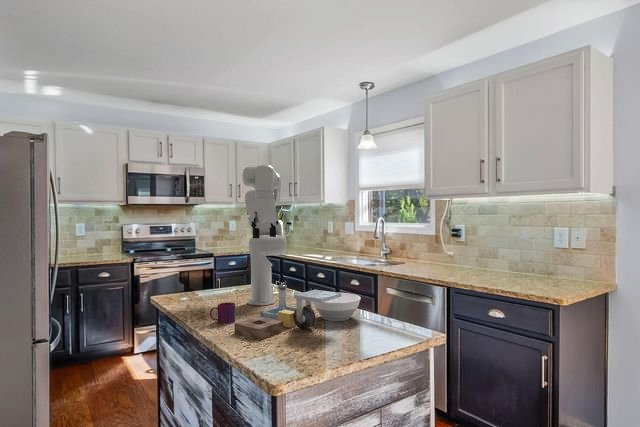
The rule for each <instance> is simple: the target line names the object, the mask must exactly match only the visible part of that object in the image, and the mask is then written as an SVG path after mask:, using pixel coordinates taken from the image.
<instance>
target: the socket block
mask: <svg viewBox="0 0 640 427" xmlns="http://www.w3.org/2000/svg"><path fill="white" fill-rule="evenodd" d="M282 332H284V326H283V321H279V320H274V319H270V318H265V317H260V316H256V317H252V318H248V319H245V320H242V321H238V322H234V334H235V335H240V336H244V337H247V338H251V339H255V340H262V339H264V338H267V337H271V336H273V335H277V334H279V333H282Z"/></svg>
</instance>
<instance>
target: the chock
mask: <svg viewBox="0 0 640 427" xmlns="http://www.w3.org/2000/svg"><path fill="white" fill-rule="evenodd" d="M293 315H294V311H289V310H282V311H279V312H278V320H279V321H283V327H285V328H286V327H287V328H293V327H294V326H295V327H296V324H295V322H294V319H293Z"/></svg>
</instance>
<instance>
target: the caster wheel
mask: <svg viewBox="0 0 640 427" xmlns="http://www.w3.org/2000/svg"><path fill="white" fill-rule="evenodd" d="M341 293H342V292H335V291H328V290H327V291H326V290H322V289H321V290H319V289H312V290H308V291H304V292H300V293H297V294H294V296H293V298H294V299H296V302H295V303H296V306H295V307H296V310H295V311H294V315H293V319H294V322H295V324H296V325H295V327H297V328H298V329H300V330H303V331H304V330H307V329H310V328H312V327H314V325H315V323H316V313H315V311H314V309H313V301H315V302H321V303H322V302H325V301H328V300H332V299H335V298H338V297H341ZM304 301H305V305H304Z"/></svg>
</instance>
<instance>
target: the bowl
mask: <svg viewBox="0 0 640 427" xmlns="http://www.w3.org/2000/svg"><path fill="white" fill-rule="evenodd" d="M340 293H341V297H338V298H335V299H332V300H328V301H325V302H322V303H321V302H315V301H312V304H314V307H315V308H316V310H317V312H318V314H319V315H320V317H322V319H323V320H325V321H329V322H345V321H348V320H350V319H351V317H352V316H353V315H354V314H355V312H356V311H357V309H358V308H359V305H360V301H361V298H362V297H361V296H360V295H359V294H358V295H357V294H354V293H347V292H340Z"/></svg>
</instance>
